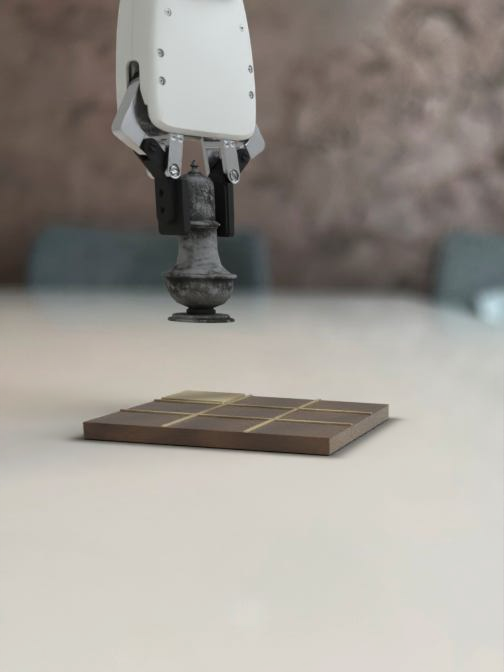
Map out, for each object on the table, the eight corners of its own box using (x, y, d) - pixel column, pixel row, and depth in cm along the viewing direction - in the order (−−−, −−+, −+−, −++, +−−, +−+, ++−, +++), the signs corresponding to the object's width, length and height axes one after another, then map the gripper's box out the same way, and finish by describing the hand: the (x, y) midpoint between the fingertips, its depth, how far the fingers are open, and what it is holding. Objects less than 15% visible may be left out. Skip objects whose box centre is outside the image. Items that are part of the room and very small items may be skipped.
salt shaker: (201, 324, 86) (193, 156, 82) (148, 319, 89) (138, 156, 85) (253, 321, 90) (248, 162, 86) (201, 317, 93) (194, 162, 89)
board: (83, 438, 78) (82, 419, 78) (184, 405, 95) (184, 389, 95) (329, 455, 76) (329, 434, 76) (388, 418, 93) (389, 401, 92)
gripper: (240, -4, 89) (247, 237, 96) (53, -49, 77) (76, 231, 83) (303, -13, 85) (307, 240, 91) (116, -62, 73) (135, 234, 79)
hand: (196, 233), depth 87 cm, fingers closed on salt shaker, 3 cm apart
